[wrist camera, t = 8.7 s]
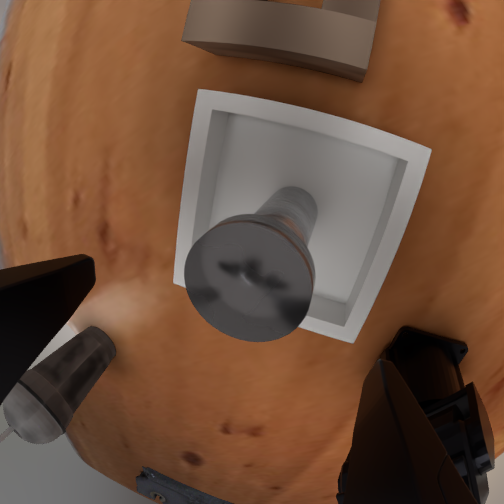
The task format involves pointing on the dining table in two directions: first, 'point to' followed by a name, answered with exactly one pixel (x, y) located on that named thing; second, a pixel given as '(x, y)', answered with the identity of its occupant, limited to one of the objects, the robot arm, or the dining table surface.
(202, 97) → the tray
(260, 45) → the block
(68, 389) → the beverage cup
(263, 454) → the dining table surface
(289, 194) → the lock pin
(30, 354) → the robot arm
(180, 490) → the grey stepped plate
